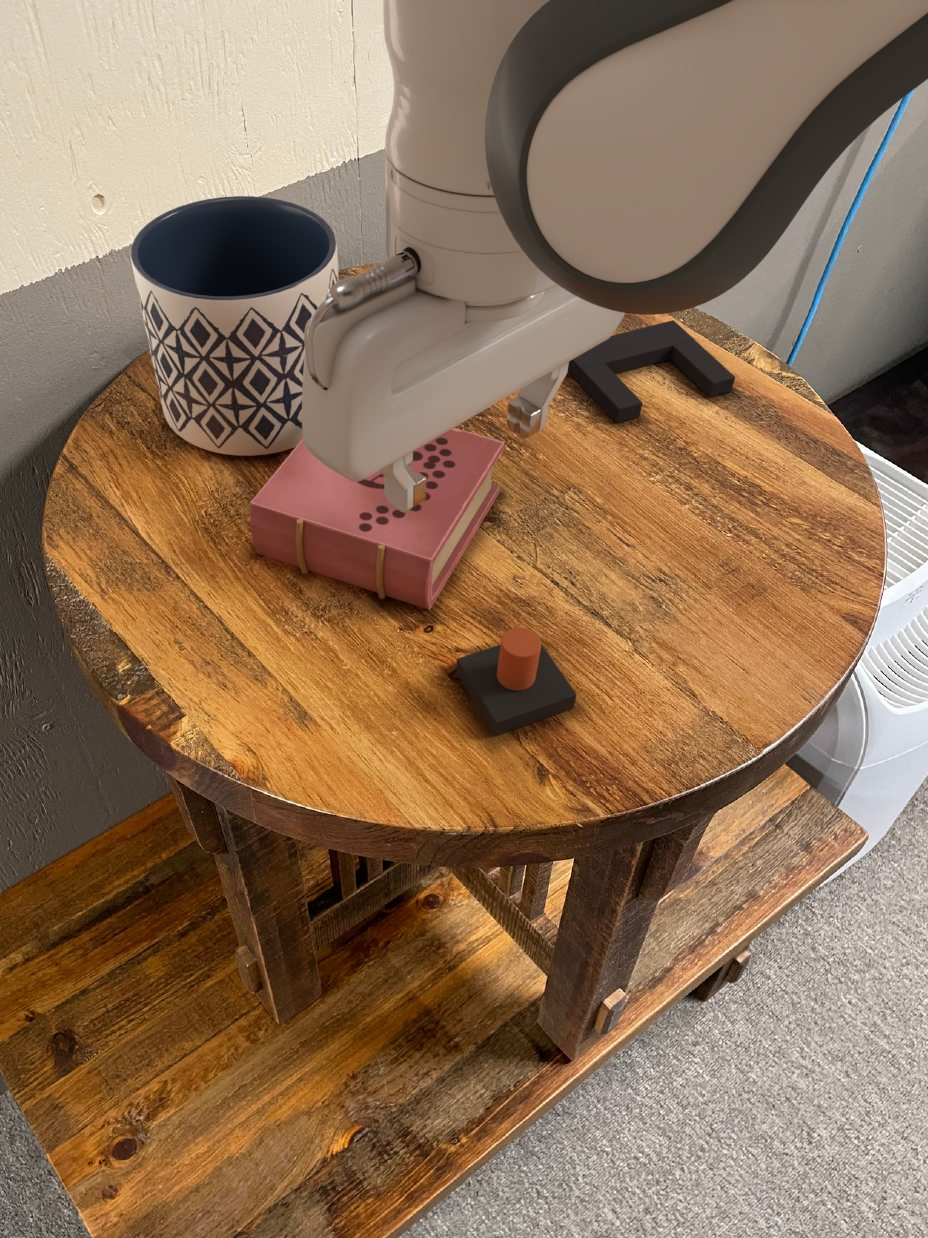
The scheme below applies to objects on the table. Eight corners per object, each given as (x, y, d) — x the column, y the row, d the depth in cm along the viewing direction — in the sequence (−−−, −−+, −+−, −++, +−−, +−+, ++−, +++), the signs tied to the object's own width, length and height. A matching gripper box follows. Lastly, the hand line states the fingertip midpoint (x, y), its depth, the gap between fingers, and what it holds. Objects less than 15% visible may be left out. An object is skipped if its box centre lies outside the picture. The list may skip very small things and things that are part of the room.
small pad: (531, 647, 71) (540, 597, 67) (573, 708, 67) (585, 660, 63) (455, 672, 69) (459, 623, 65) (494, 736, 66) (501, 688, 62)
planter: (341, 349, 93) (334, 192, 82) (347, 457, 84) (340, 295, 72) (170, 355, 93) (139, 197, 81) (156, 464, 83) (118, 302, 72)
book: (251, 560, 76) (244, 509, 72) (340, 446, 84) (337, 395, 80) (424, 617, 72) (426, 567, 68) (499, 492, 81) (504, 441, 77)
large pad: (670, 334, 95) (673, 319, 94) (731, 391, 89) (736, 376, 88) (559, 362, 92) (561, 347, 91) (616, 423, 86) (619, 408, 85)
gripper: (353, 331, 39) (364, 582, 50) (678, 171, 48) (627, 416, 59) (257, 270, 42) (286, 520, 53) (579, 129, 51) (547, 370, 62)
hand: (467, 464), depth 56 cm, fingers open, 8 cm apart
